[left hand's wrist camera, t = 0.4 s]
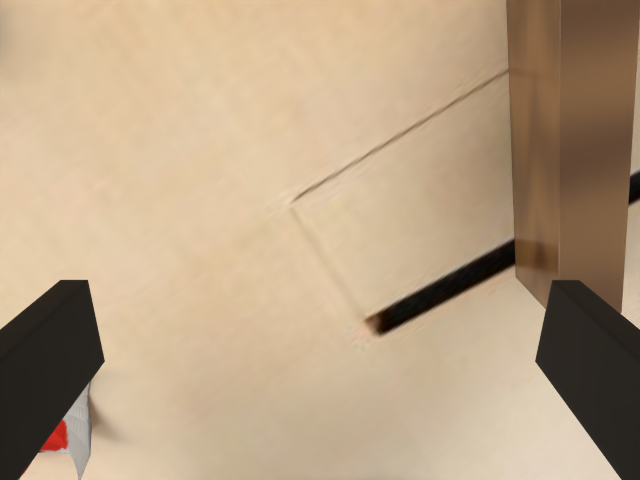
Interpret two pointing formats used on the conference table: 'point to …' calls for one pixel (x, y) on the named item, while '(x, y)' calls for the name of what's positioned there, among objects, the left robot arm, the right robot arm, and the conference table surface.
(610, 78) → the bar
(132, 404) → the conference table surface
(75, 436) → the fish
